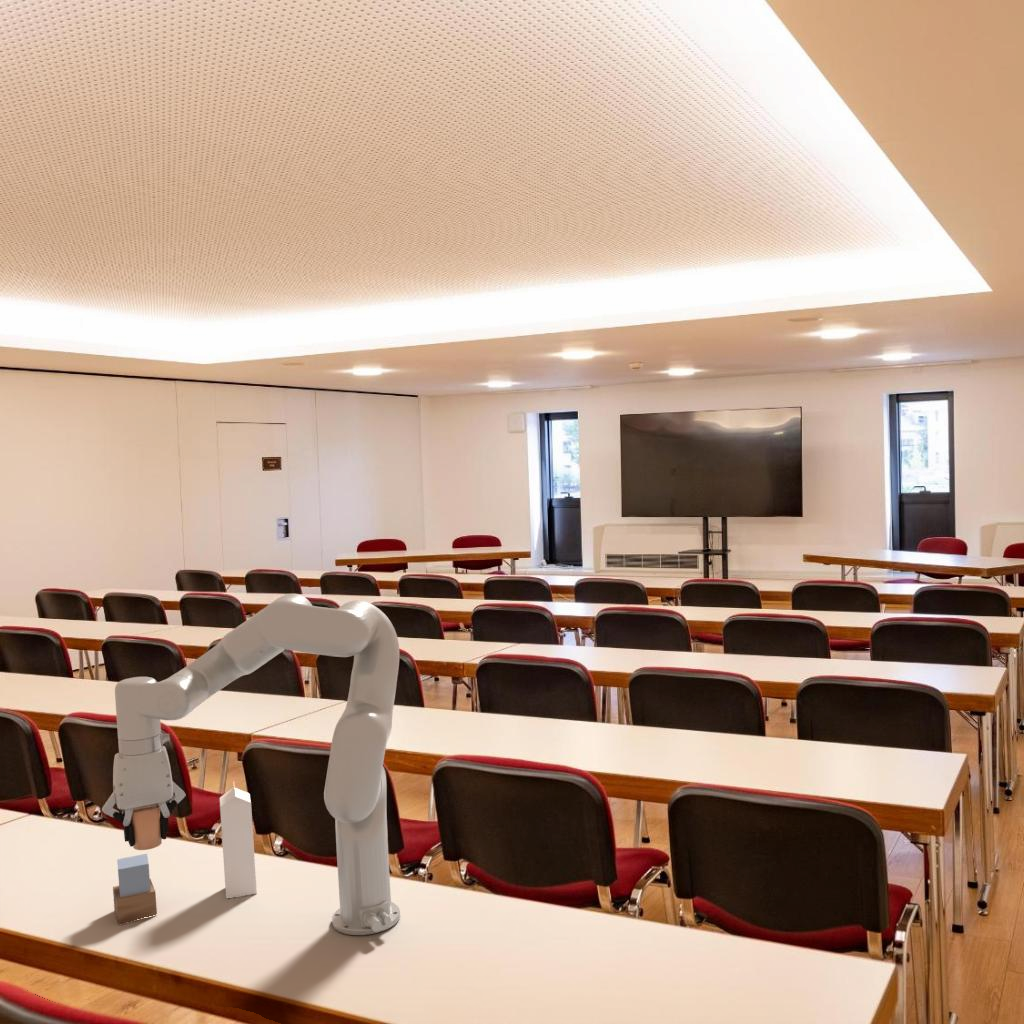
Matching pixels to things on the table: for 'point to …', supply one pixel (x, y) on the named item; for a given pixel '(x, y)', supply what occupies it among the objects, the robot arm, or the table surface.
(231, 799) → the milk
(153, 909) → the walnut base block
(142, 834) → the terracotta capsule
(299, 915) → the table surface
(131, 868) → the slate blue cube
